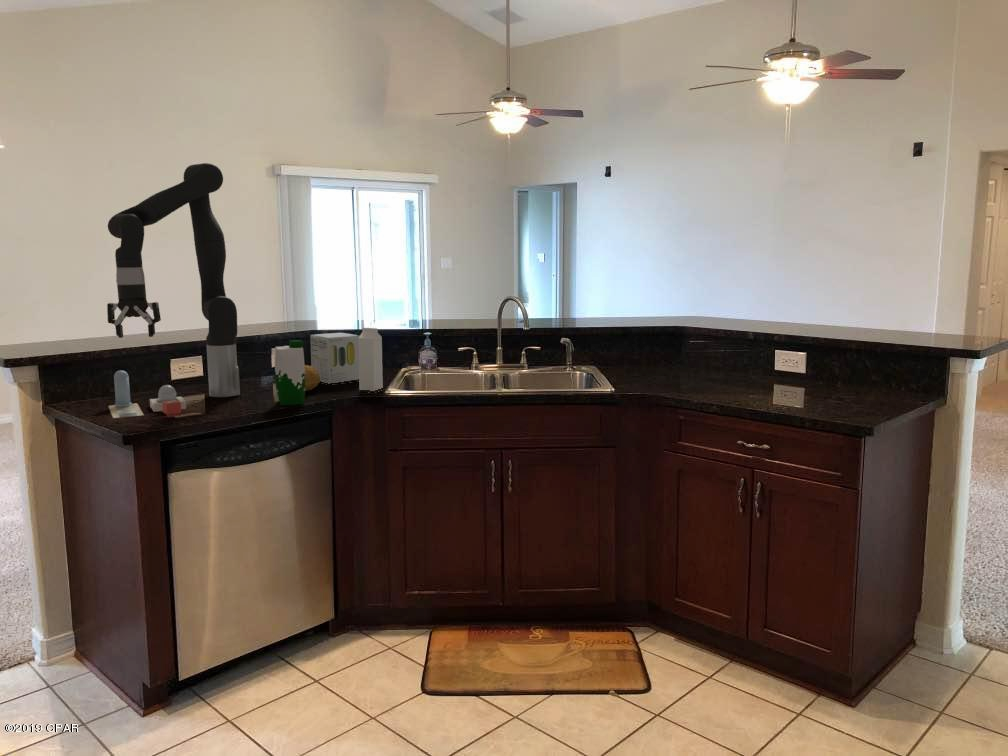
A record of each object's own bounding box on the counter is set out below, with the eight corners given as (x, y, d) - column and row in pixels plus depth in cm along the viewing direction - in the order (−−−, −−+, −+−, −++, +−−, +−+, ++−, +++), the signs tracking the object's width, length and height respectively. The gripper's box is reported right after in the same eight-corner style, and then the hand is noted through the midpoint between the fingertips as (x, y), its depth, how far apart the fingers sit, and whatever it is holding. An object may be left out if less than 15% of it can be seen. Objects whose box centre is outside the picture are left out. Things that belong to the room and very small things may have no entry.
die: (176, 413, 227) (176, 399, 226) (181, 415, 224) (180, 401, 223) (162, 414, 224) (162, 401, 224) (167, 417, 222) (166, 403, 221)
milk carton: (307, 404, 241) (304, 341, 238) (277, 406, 238) (274, 342, 235) (304, 399, 249) (301, 338, 246) (275, 401, 246) (272, 339, 243)
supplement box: (328, 385, 276) (327, 337, 273) (311, 380, 286) (309, 334, 283) (360, 381, 285) (359, 335, 282) (342, 377, 295) (341, 332, 292)
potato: (278, 392, 261) (277, 365, 259) (309, 387, 271) (308, 361, 270) (295, 396, 255) (294, 368, 254) (327, 390, 266) (326, 364, 264)
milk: (374, 393, 262) (373, 329, 258) (359, 391, 264) (357, 328, 260) (383, 390, 267) (381, 327, 264) (367, 388, 269) (366, 326, 266)
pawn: (131, 403, 236) (128, 368, 235) (132, 406, 232) (129, 370, 231) (114, 405, 234) (111, 370, 232) (115, 407, 230) (112, 372, 228)
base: (181, 406, 238) (181, 396, 237) (186, 411, 230) (185, 401, 229) (150, 408, 233) (149, 399, 233) (153, 414, 225) (153, 404, 225)
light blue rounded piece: (175, 400, 235) (174, 383, 234) (177, 403, 230) (176, 385, 229) (157, 402, 232) (156, 384, 231) (159, 405, 228) (158, 387, 227)
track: (137, 405, 237) (137, 403, 237) (144, 417, 220) (144, 415, 220) (108, 408, 233) (108, 405, 233) (113, 420, 216) (113, 417, 216)
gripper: (159, 281, 231) (164, 335, 233) (109, 282, 228) (114, 336, 231) (152, 283, 223) (157, 338, 226) (100, 283, 221) (106, 339, 224)
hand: (136, 337), depth 229 cm, fingers open, 8 cm apart
